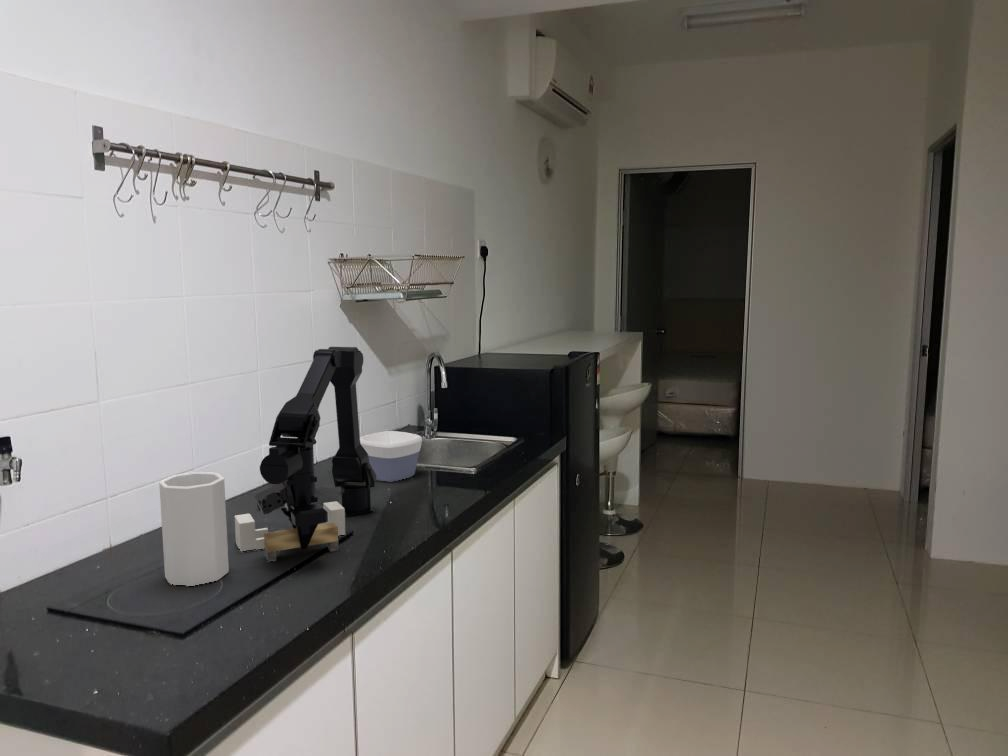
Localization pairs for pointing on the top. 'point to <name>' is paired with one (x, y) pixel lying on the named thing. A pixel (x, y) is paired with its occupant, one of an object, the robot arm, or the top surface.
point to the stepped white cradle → (255, 537)
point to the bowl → (392, 454)
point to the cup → (194, 528)
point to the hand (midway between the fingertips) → (302, 546)
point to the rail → (291, 539)
